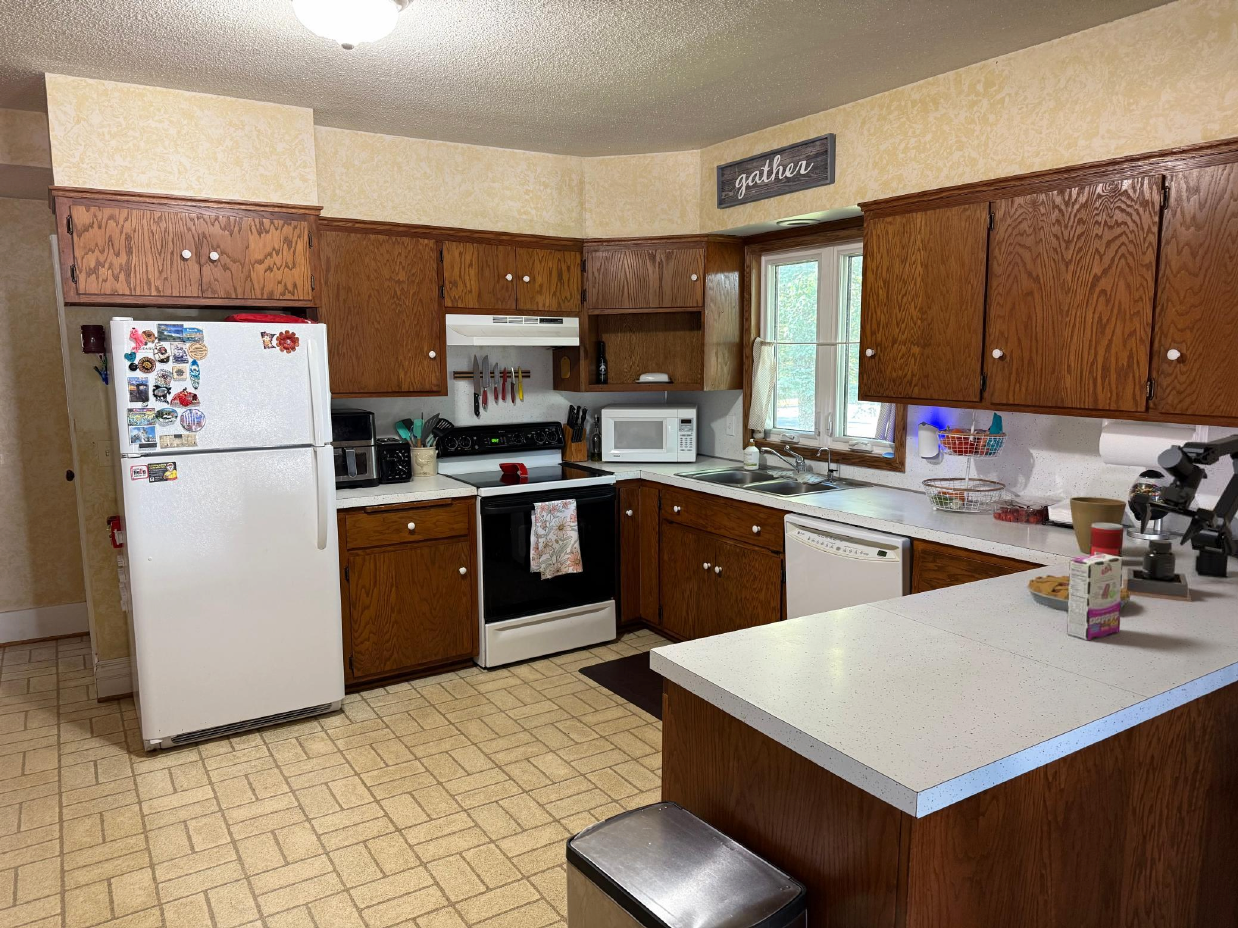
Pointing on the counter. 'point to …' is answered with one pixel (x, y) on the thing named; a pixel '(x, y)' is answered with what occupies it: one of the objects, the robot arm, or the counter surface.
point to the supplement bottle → (1159, 561)
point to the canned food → (1106, 539)
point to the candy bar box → (1094, 596)
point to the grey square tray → (1157, 586)
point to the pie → (1058, 592)
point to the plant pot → (1093, 516)
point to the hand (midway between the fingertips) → (1160, 539)
